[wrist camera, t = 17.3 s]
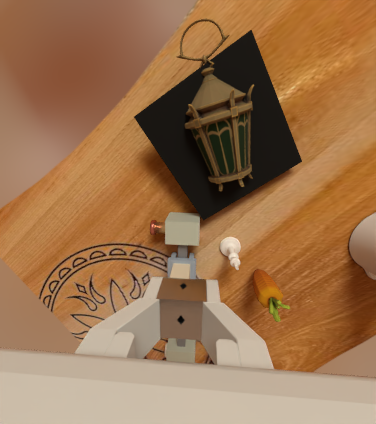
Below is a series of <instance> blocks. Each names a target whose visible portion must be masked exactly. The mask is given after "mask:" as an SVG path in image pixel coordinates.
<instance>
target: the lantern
mask: <svg viewBox="0 0 376 424" xmlns="http://www.w3.org/2000/svg"><path fill="white" fill-rule="evenodd" d="M201 21H209V22H212V23H214V24H215V25H216V26H217V27H218V28H219V30H220V32H221V36H222V40H221V42H220V43H219V45H218V46H217V47H216V48H215V49H214V50H213V51H212V53H210V54H209V55H207V56H205V55H203V58H197V59H196V58H189V57H186V56H183V52H182V41H183V37H184V35H185V33H186V32H187V31H188V29H189V28H190V27H191V26H193V25H194V24H196V23H198V22H201ZM228 36H229V35H228ZM228 36H225V37H224V34H223V31H222V29H221V27H220V26H219V24H218V23H216V22H215V21H213V20H211V19H201V20H197V21H195V22H194V23H192V24H191V25H190V26H189V27H188V28H187V29H186V30H185V31H184V33H183V35H182V38H181V41H180V54H181V55H180V56H178V58H182V59H188V60H194V61H202V63H201V65H200V67H199V69H198V70H196V71H195V72H194V73H192V74H191V75H190V76H188V77H187V78H186V79H184V80H183V81H182V82H180V83H179V84H178V85H176V86H175V87H174V88H172V89H171V90H170V91H168V92H167V93H165V94H164V95H163V96H161V97H160V98H159V99H157V100H156V101H155V102H153V103H152V104H151V105H149V106H148V107H147V108H145V109H144V110H143V111H141V112H140V113H139V114H137V115H136V116H135V117H134V118H135V119H136V121H137V122H138V124H139V125H140V127H141V128H142V130H143V131H144V133H145V134H146V136H147V137H148V139H149V140H150V142H151V143H152V144H153V146H154V147H155V149H156V150H157V152H158V153H159V155H160V156H161V158H162V159H163V161H164V162H165V164H166V165H167V167H168V168H169V170H170V171H171V173H172V174H173V176H174V177H175V179H176V180H177V182H178V183H179V185H180V186H181V188H182V189H183V191H184V192H185V194H186V195H187V196H188V198H189V199H190V201H191V202H192V204H193V205H194V207H195V208H196V210H197V211H198V213H199V214H200V216H201V217H202V219H203V220H205V219H207V218H208V217H210V216H212V215H213V214H215V213H217V212H218V211H220V210H222V209H223V208H225V207H227V206H228V205H230V204H232V203H233V202H235V201H237V200H239V199H240V198H242V197H244V196H245V195H247V194H249V193H250V192H252V191H254V190H255V189H257V188H259V187H260V186H262V185H264V184H265V183H267V182H269V181H270V180H272V179H274V178H275V177H277V176H279V175H280V174H282V173H284V172H285V171H287V170H289V169H290V168H292V167H294V166H295V165H297V164H299V163H300V162H302V160H301V157H300V155H299V152H298V150H297V147H296V144H295V142H294V139H293V137H292V134H291V131H290V129H289V126H288V124H287V121H286V118H285V116H284V113H283V111H282V108H281V105H280V103H279V100H278V98H277V95H276V92H275V90H274V87H273V85H272V82H271V79H270V77H269V74H268V72H267V69H266V66H265V64H264V61H263V59H262V56H261V53H260V51H259V48H258V46H257V43H256V40H255V38H254V35H253V33H252V30H250V31H249V32H248V33H246V34H245V35H244V36H242V37H241V38H240V39H238V40H237V41H235V42H234V43H233V44H231V45H230V46H229V47H227V48H226V49H225V50H223V51H222V52H221V53H219V54H218V55H217V56H215V57H214V58H213V59H211V60H209V59H208V58H209V57H210V56H211V55H212V54H213V53H214V52H215V51H216V50H217V49H218V48H219V47H220V46H221V45H222V44H223V42H224V41H225V40H226V39H227V38H228ZM203 64H205V65H203Z"/></svg>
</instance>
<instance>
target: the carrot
mask: <svg viewBox="0 0 376 424" xmlns="http://www.w3.org/2000/svg"><path fill="white" fill-rule="evenodd" d="M253 286H254V290H255V294H256V296H257V299H258V301H259V302H260V303H261V304H262V305H263V307H265V308H269V313H270V314H272V315H273V317H274V319H275V321H277V322H279V321H281V320H280V318H279V315H278V310H277V308H278V309H279V308H280V307H279V305H280V306H281V307H283V308H286V309H290V306H287V305H284V304H281V302H282V298H283V294H282V292H281V291H280V289H279V288H278V286H277V285H276V283H275V282H274V281H273V280H272V278H271V277H270V276H269V275H268V274H267V273H266V272H265V271H263V270H259V269H257V270H255V272H254V276H253ZM276 307H277V308H276Z"/></svg>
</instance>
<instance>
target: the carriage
mask: <svg viewBox="0 0 376 424" xmlns="http://www.w3.org/2000/svg"><path fill="white" fill-rule="evenodd" d="M168 277H170V278H184V279H196V259H194V253H190V256H189V258H177V252H172V255H171V257H169V258H168Z"/></svg>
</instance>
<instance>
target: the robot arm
mask: <svg viewBox="0 0 376 424" xmlns="http://www.w3.org/2000/svg"><path fill="white" fill-rule="evenodd" d="M349 250H350V254H351V256H352V258H353V260H354V261H355V262H356V263H357V264H359V265H360V266H361V267H363V268H364V270H365V272H366V274H367V275H368V277H370V278H371V279H373V280H376V213H374V214H372V215H370V216H369V217H367V218H366V219H364V220H363V221H362V222H361V223H360V224H359V225H358V226H357V227H356V228H355V230H354V231H353V233H352V235H351V238H350V242H349ZM160 338H177V339H189V340H198V341H201V342H202V344H203V346H204V347H205V349H206V351H207V352H208V354H209V356H210V357H211V359H212V361H213V363H214V364H215V365H213V364H200V363H187V362H175V361H162V360H149V359H143V358H144V357H145V356H146V354H147V353H148V352H149V351H150V350H151V349H152V348H153V347H154V345H155V344H156V343H157V342H158V341H159V340H160ZM0 424H376V378H375V377H363V376H351V375H337V374H325V373H313V372H300V371H288V370H275V369H274V367H273V364H272V361H271V358H270V356H269V353H268V350H267V347H266V344H265V341H264V340H263V339H262V338H261V337H260V336H258V335H257V334H256V333H255V332H254V331H253V330H252V329H251V328H250V327H249V326H248V325H247V324H246V323H245V322H243V321H242V320H241V319H240V318H239V317H238V316H237V315H236V314H235V313H234V312H233V311H232V310H231V309H230V308H228V307H227V306H226V305H225V304H224V303H221V302H220V294H219V286H218V280H204V279H184V278H170V277H155V276H153V277H152V278H151V280H150V282H149V284H148V287H147V289H146V292H145V294H144V296H143V298H139V299H137V300H135V301H134V302H132V303H131V304H129V305H127V306H126V307H124V308H123V309H121V310H120V311H118V312H116V313H115V314H113V315H112V316H110V317H108V318H107V319H105V320H104V321H102V322H100V323H99V324H97V325H96V326H94V327H92V328H91V329H90V330H89V332H88V333H87V335H86V336H85V338H84V339H83V341H82V342H81V344H80V346H79V347H78V349H77V350H76V352H75V353H61V352H49V351H37V350H25V349H12V348H0Z"/></svg>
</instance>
